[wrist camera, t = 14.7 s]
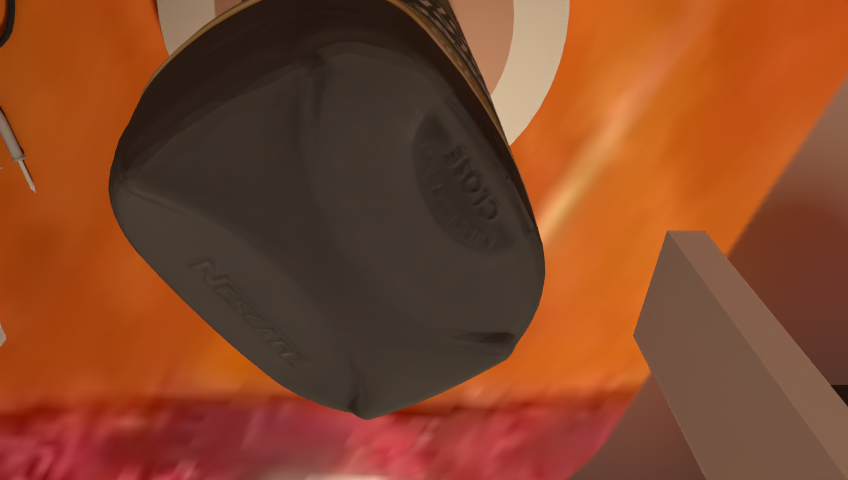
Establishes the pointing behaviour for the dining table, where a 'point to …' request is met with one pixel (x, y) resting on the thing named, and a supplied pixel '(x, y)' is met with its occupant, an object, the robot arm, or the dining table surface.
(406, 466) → the dining table surface
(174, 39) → the trivet
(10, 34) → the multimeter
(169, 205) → the coffee jar
